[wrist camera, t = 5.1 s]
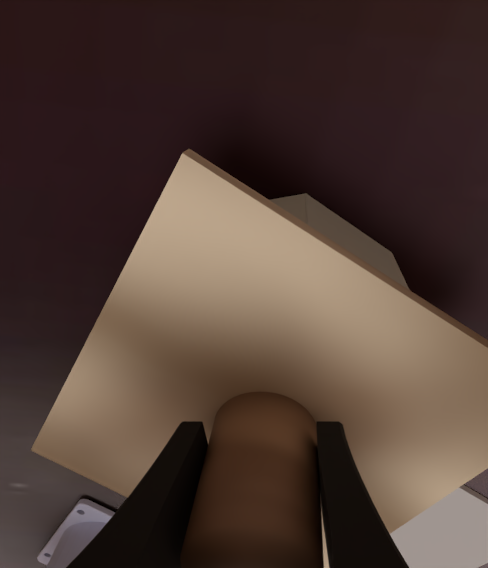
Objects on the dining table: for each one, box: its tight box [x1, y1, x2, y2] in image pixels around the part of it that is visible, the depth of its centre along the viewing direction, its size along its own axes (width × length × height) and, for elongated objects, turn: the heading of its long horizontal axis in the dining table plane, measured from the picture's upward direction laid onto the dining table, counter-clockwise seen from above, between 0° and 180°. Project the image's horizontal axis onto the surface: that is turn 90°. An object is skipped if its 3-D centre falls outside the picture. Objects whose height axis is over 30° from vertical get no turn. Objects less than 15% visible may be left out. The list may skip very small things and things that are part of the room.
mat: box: [390, 485, 488, 568], centre depth 25 cm, size 14×14×1 cm
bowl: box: [270, 193, 409, 289], centre depth 16 cm, size 10×10×5 cm
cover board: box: [31, 149, 488, 568], centre depth 11 cm, size 12×12×5 cm
